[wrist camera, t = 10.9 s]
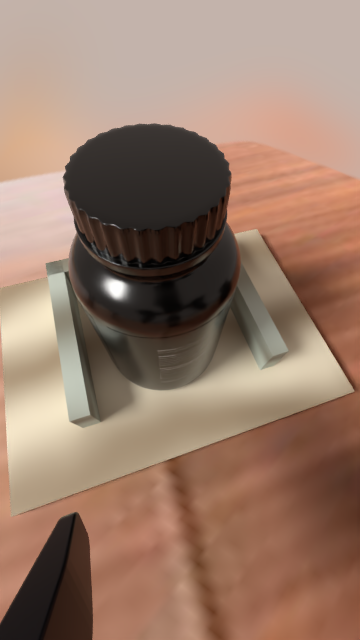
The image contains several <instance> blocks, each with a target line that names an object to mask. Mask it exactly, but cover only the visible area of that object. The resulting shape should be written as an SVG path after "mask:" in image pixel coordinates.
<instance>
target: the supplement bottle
mask: <svg viewBox="0 0 360 640" xmlns="http://www.w3.org/2000/svg"><path fill="white" fill-rule="evenodd" d="M65 170H66V172H65V174H64V176H63V181H64V185H65V186H64V191H65V195H66V198H67V200H68V203H69V206H70V208H71V211H72V213H73V216H74V224H75V228H76V231H77V233H76V235H75V237H74V239H73V242H72V245H71V249H70V253H69V262H68V269H69V277H70V281H71V284H72V287H73V290H74V292H75V294H76V296H77V299H78V301H79V302H80V304H81V306H82V308H83V310H84V311H85V313H86V315H87V317H88V319H89V320H90V322H91V324H92V326H93V328H94V329H95V331H96V333H97V335H98V336H99V338H100V340H101V342H102V344H103V345H104V347H105V349H106V351H107V353H108V354H109V356H110V358H111V360H112V361H113V363H114V364H115V366H116V368H117V369H118V370H119V371H120V372H121V374H122V375H123V376H124V377H126V378H127V379H128V380H129V381H131V382H132V383H134V384H136V385H138V386H141V387H143V388H146V389H151V390H172V389H176V388H180V387H183V386H185V385H187V384H189V383H191V382H192V381H194V380H195V379H197V378H198V377H199V376H200V375H201V374H202V373H203V372H204V371H205V370H206V368H207V367H208V365H209V364H210V362H211V360H212V358H213V356H214V353H215V351H216V348H217V345H218V342H219V339H220V336H221V333H222V330H223V327H224V324H225V321H226V318H227V315H228V312H229V309H230V306H231V303H232V300H233V297H234V294H235V291H236V288H237V285H238V280H239V276H240V270H241V256H240V250H239V246H238V243H237V240H236V238H235V235H234V233H233V231H232V229H231V228H230V226H229V225H228V223H227V222H226V220H227V205H228V200H229V195H230V184H231V172H230V170H229V163H228V162H227V160H226V159H224V153H222V152H221V151H219V150H218V148H217V146H216V145H215V144H213V143H211V142H209V140H208V139H207V138H205V137H202V136H199V135H198V134H197V133H196V132H192V131H188V130H186V129H184V128H180V127H174V126H171V125H160V124H148V125H147V124H137V125H128V126H124V127H121V128H115V129H111V130H110V131H108V132H104V133H100V134H99V135H97V136H96V137H95V138H92V139H90V140H88V141H87V142H86V143H85V144H84V145H82V146H80V147H79V148H78V149H77V151H76V153H74V154H73V155H72V156H70V162H69V163H68V164H67V165H66V166H65Z"/></svg>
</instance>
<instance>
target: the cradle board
mask: <svg viewBox="0 0 360 640" xmlns="http://www.w3.org/2000/svg"><path fill="white" fill-rule="evenodd" d="M234 235H235V238H236V240H237V243H238V246H239V250H240V256H241V270H240V276H239V280H238V285H237V288H236V291H235V294H234V297H233V300H232V303H231V306H230V309H229V312H228V315H227V318H226V321H225V324H224V327H223V330H222V333H221V336H220V339H219V342H218V345H217V348H216V351H215V353H214V356H213V358H212V360H211V362H210V364H209V365H208V367H207V368H206V370H205V371H204V372H203V373H202V374H201V375H200V376H199V377H198V378H197V379H195V380H194V381H192V382H191V383H189V384H187V385H185V386H183V387H180V388H176V389H172V390H151V389H146V388H143V387H141V386H138V385H136V384H134V383H132V382H131V381H129V380H128V379H127V378H126V377H124V376H123V375H122V374H121V372H120V371H119V370H118V369H117V368H116V366H115V364H114V363H113V361H112V360H111V358H110V356H109V354H108V353H107V351H106V349H105V347H104V345H103V344H102V342H101V340H100V338H99V336H98V335H97V333H96V331H95V329H94V328H93V326H92V324H91V322H90V320H89V319H88V317H87V315H86V313H85V311H84V310H83V308H82V306H81V304H80V302H79V301H78V299H77V296H76V294H75V292H74V290H73V287H72V284H71V281H70V277H69V269H68V262H69V258H68V259H63V260H59V261H54V262H50V263H46V269H47V275H48V277H46V278H42V279H37V280H33V281H29V282H24V283H20V284H16V285H12V286H7V287H3V288H0V320H1V339H2V357H3V376H4V395H5V413H6V432H7V450H8V469H9V488H10V506H11V517H12V516H16V515H19V514H22V513H25V512H27V511H30V510H33V509H36V508H38V507H41V506H44V505H47V504H49V503H52V502H55V501H57V500H60V499H63V498H66V497H68V496H71V495H74V494H77V493H79V492H82V491H85V490H88V489H90V488H93V487H96V486H98V485H101V484H104V483H107V482H109V481H112V480H115V479H118V478H120V477H123V476H126V475H129V474H131V473H134V472H137V471H140V470H142V469H145V468H148V467H150V466H153V465H156V464H159V463H161V462H164V461H167V460H170V459H172V458H175V457H178V456H181V455H183V454H186V453H189V452H191V451H194V450H197V449H200V448H202V447H205V446H208V445H211V444H213V443H216V442H219V441H222V440H224V439H227V438H230V437H232V436H235V435H238V434H241V433H243V432H246V431H249V430H252V429H254V428H257V427H260V426H263V425H265V424H268V423H271V422H274V421H276V420H279V419H282V418H284V417H287V416H290V415H293V414H295V413H298V412H301V411H304V410H306V409H309V408H312V407H315V406H317V405H320V404H323V403H325V402H328V401H331V400H334V399H336V398H339V397H342V396H345V395H347V394H350V393H352V392H354V389H353V388H352V386H351V384H350V383H349V381H348V379H347V378H346V376H345V374H344V373H343V371H342V369H341V368H340V366H339V364H338V363H337V361H336V359H335V358H334V356H333V354H332V353H331V351H330V350H329V348H328V346H327V345H326V343H325V341H324V340H323V338H322V336H321V335H320V333H319V331H318V330H317V328H316V326H315V325H314V323H313V321H312V320H311V318H310V316H309V315H308V313H307V311H306V310H305V308H304V307H303V305H302V303H301V302H300V300H299V298H298V297H297V295H296V293H295V292H294V290H293V288H292V287H291V285H290V283H289V282H288V280H287V278H286V277H285V275H284V273H283V272H282V270H281V269H280V267H279V265H278V264H277V262H276V260H275V259H274V257H273V255H272V254H271V252H270V250H269V249H268V247H267V245H266V244H265V242H264V240H263V239H262V237H261V235H260V234H259V232H258V231H257V229H254V230H250V231H245V232H241V233H237V234H234Z"/></svg>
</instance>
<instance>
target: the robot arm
mask: <svg viewBox="0 0 360 640" xmlns="http://www.w3.org/2000/svg"><path fill="white" fill-rule="evenodd" d="M92 634H93V608H92V586H91V565H90V545H89V537H88V533H87V531H86V529H85V526H84V524H83V522H82V520H81V517H80V515H79V514H78V513H77V512H74V513H71V514H69V515H66V516H63V517H62V518H60V519H59V521H58V522H57V524H56V526H55V528H54V529H53V531H52V533H51V535H50V537H49V538H48V540H47V542H46V544H45V545H44V547H43V549H42V551H41V552H40V554H39V556H38V558H37V559H36V561H35V563H34V565H33V567H32V568H31V570H30V572H29V574H28V575H27V577H26V579H25V581H24V582H23V584H22V586H21V588H20V589H19V591H18V593H17V595H16V596H15V598H14V600H13V602H12V604H11V605H10V607H9V609H8V611H7V612H6V614H5V616H4V618H3V619H2V621H1V623H0V640H92Z"/></svg>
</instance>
